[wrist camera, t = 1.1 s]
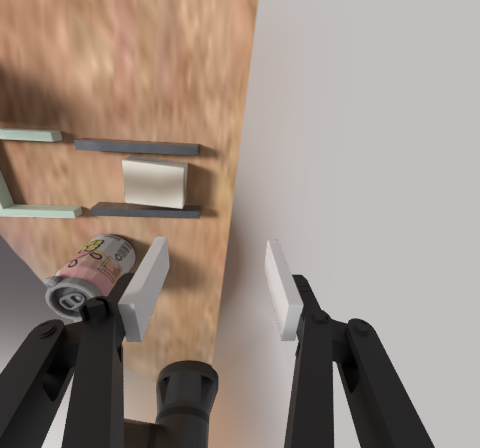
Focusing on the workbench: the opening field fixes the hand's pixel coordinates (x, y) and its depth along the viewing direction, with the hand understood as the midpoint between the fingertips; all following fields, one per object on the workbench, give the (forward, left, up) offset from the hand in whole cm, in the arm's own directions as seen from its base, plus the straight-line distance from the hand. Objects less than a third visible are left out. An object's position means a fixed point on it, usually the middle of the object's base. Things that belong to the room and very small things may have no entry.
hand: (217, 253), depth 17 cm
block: (0, +10, -20) cm, 23 cm away
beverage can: (-14, +20, -20) cm, 31 cm away
